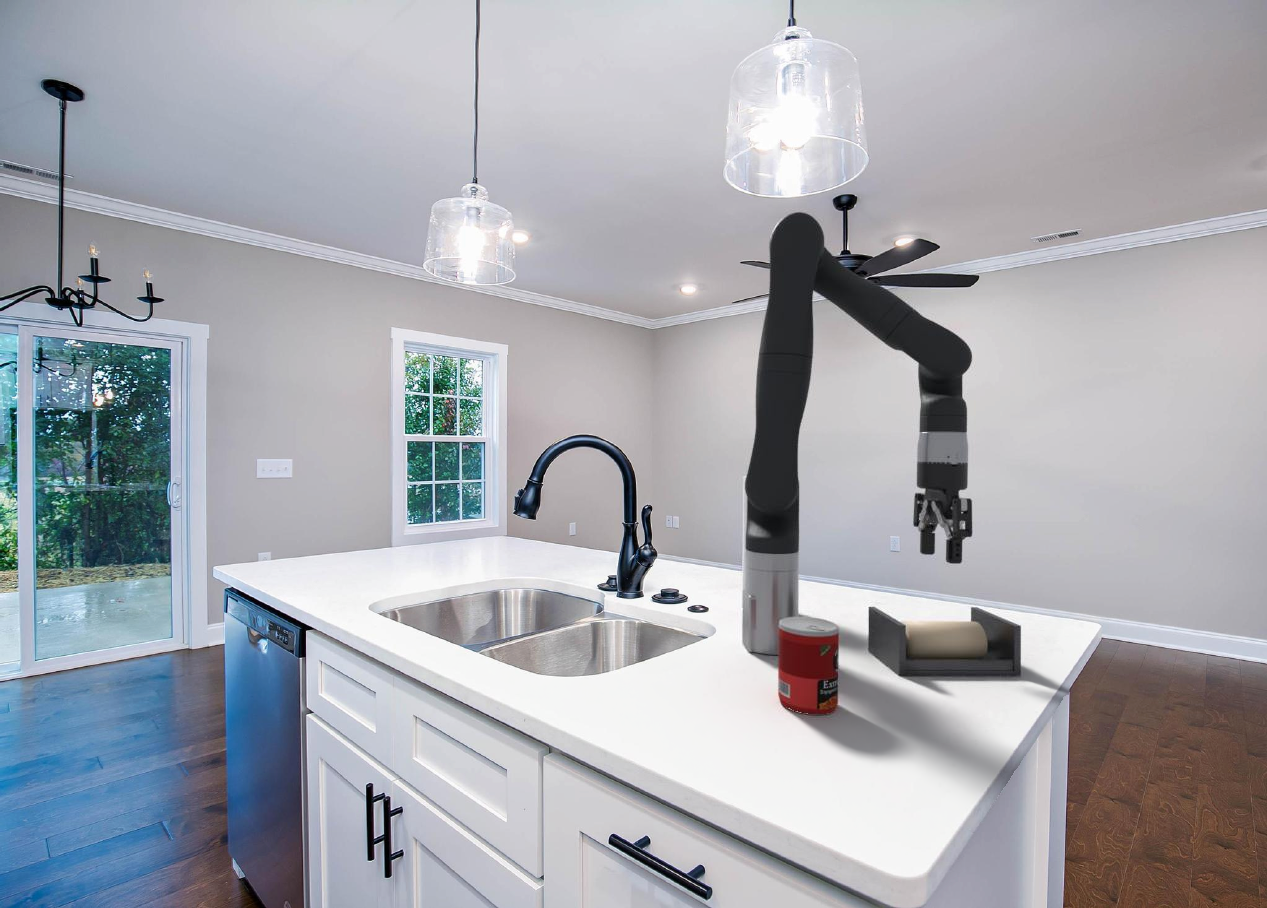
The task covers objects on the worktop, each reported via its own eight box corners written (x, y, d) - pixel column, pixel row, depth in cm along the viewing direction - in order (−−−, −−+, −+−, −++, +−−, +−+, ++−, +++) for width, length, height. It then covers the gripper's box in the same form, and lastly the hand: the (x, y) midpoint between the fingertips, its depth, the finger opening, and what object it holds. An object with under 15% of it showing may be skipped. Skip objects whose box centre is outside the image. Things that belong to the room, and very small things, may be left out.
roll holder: (899, 676, 95) (899, 625, 95) (868, 651, 107) (868, 606, 107) (1020, 676, 96) (1020, 626, 96) (976, 652, 108) (976, 607, 108)
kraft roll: (906, 665, 99) (907, 628, 98) (889, 650, 105) (891, 616, 104) (992, 665, 99) (994, 629, 98) (971, 651, 105) (973, 616, 104)
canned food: (830, 721, 79) (830, 635, 79) (769, 707, 83) (770, 625, 83) (844, 701, 85) (845, 621, 85) (787, 689, 89) (788, 613, 89)
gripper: (900, 459, 109) (898, 551, 109) (941, 460, 94) (939, 566, 94) (942, 460, 109) (940, 552, 109) (990, 461, 95) (988, 567, 95)
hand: (940, 558), depth 102 cm, fingers open, 8 cm apart
